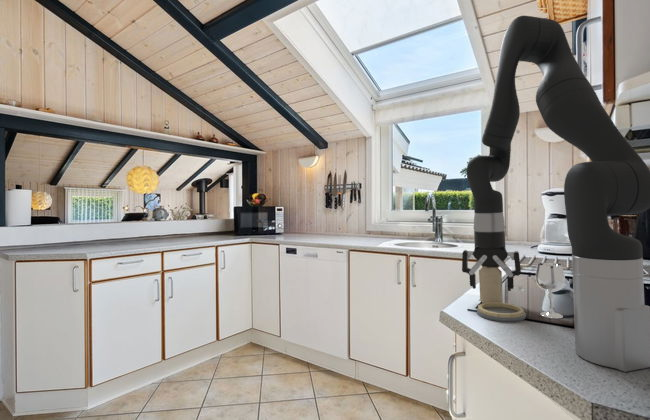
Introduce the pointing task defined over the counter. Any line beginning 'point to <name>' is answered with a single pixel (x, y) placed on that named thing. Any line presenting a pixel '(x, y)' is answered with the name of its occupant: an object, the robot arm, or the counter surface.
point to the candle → (490, 285)
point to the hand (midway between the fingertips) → (491, 289)
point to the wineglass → (550, 283)
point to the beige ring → (501, 312)
